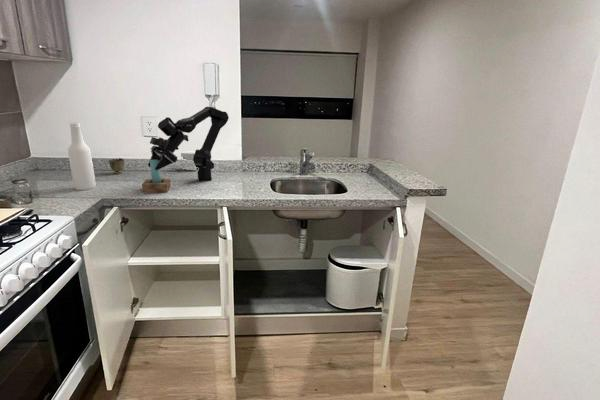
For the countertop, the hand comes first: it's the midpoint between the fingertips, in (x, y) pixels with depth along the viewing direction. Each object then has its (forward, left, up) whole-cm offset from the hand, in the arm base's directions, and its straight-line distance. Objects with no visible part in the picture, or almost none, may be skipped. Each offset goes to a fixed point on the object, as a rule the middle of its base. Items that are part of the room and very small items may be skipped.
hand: (152, 167), depth 159 cm
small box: (-12, -44, -11) cm, 47 cm away
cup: (+26, -37, -11) cm, 46 cm away
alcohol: (+32, -7, -11) cm, 34 cm away
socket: (-1, -1, -11) cm, 11 cm away
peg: (-1, -1, -11) cm, 11 cm away
